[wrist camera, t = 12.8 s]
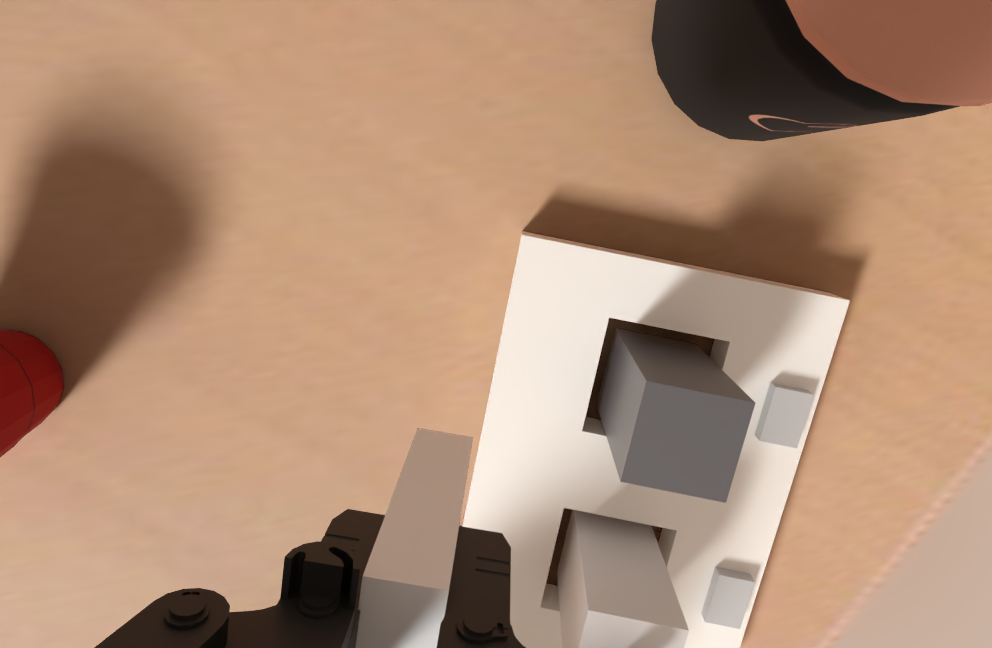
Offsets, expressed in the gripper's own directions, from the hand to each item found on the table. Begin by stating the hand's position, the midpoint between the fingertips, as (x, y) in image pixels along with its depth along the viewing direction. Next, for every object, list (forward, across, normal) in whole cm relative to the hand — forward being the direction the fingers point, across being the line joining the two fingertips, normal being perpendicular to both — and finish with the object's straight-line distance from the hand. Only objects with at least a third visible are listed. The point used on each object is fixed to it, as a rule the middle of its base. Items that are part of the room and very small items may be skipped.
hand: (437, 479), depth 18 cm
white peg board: (+20, +10, -7) cm, 23 cm away
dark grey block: (+20, +10, -2) cm, 22 cm away
